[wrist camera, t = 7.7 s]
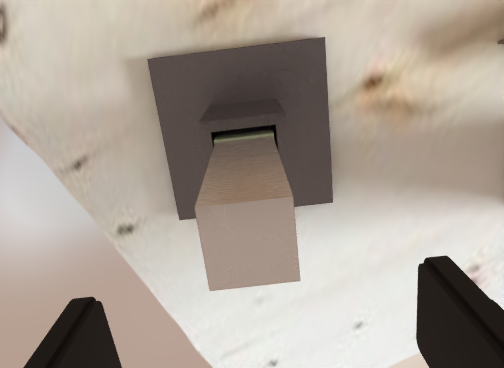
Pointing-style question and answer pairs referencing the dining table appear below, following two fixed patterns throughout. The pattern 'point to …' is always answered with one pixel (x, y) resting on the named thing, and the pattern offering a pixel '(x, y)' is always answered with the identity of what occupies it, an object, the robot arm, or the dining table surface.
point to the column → (247, 213)
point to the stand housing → (246, 112)
